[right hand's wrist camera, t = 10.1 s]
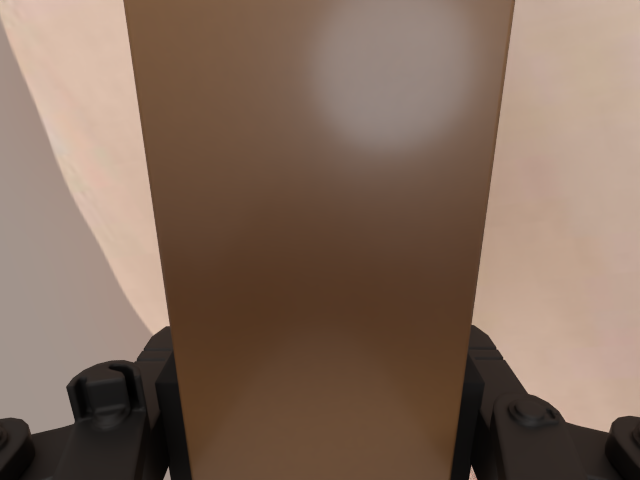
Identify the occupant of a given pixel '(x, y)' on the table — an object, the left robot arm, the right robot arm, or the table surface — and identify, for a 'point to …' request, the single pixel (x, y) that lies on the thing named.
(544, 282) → the table surface
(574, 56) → the table surface
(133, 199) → the table surface
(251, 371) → the bar
